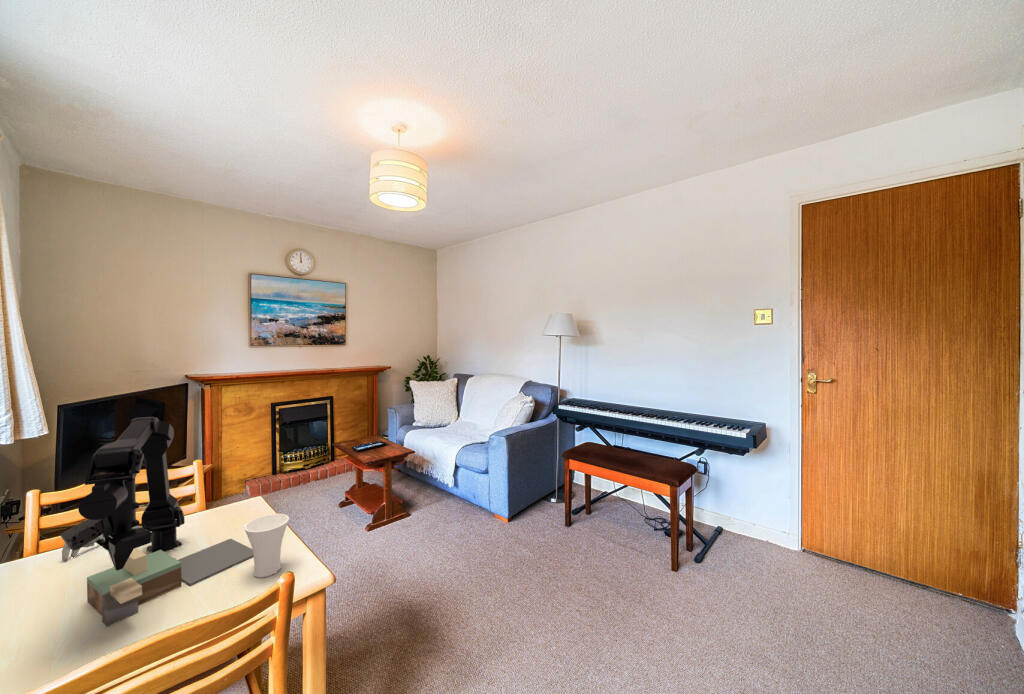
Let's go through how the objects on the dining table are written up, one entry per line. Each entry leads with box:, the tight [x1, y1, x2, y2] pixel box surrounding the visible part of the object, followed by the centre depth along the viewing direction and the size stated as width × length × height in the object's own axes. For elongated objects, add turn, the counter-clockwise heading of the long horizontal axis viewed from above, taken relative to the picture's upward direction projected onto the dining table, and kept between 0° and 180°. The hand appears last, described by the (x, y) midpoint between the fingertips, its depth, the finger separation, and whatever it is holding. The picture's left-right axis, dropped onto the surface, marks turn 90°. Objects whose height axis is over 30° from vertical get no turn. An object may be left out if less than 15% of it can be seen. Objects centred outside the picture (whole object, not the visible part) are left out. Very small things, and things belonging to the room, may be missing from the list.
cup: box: [243, 513, 290, 578], centre depth 107 cm, size 10×10×14 cm
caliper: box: [61, 525, 141, 562], centre depth 121 cm, size 20×1×6 cm, turn 171°
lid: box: [86, 548, 181, 595], centre depth 97 cm, size 12×14×5 cm
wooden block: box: [110, 578, 142, 604], centre depth 88 cm, size 6×4×2 cm, turn 61°
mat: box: [177, 538, 254, 587], centre depth 112 cm, size 16×17×1 cm
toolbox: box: [86, 567, 183, 627], centre depth 96 cm, size 15×15×6 cm
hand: (119, 569), depth 89 cm, fingers closed
